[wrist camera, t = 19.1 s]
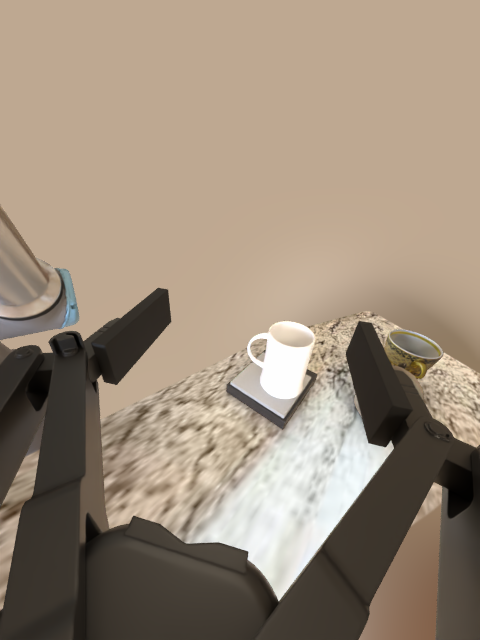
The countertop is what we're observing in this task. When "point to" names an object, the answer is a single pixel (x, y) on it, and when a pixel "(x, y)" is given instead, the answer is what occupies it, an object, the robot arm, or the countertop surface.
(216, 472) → the countertop surface
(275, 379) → the mug
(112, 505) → the countertop surface
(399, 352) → the ceramic cup
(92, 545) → the robot arm
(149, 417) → the countertop surface
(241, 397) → the scale
